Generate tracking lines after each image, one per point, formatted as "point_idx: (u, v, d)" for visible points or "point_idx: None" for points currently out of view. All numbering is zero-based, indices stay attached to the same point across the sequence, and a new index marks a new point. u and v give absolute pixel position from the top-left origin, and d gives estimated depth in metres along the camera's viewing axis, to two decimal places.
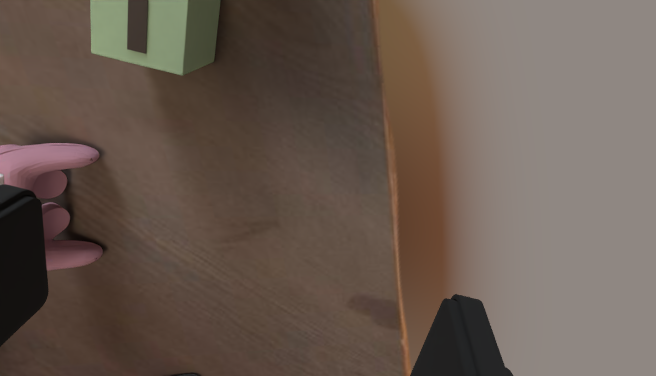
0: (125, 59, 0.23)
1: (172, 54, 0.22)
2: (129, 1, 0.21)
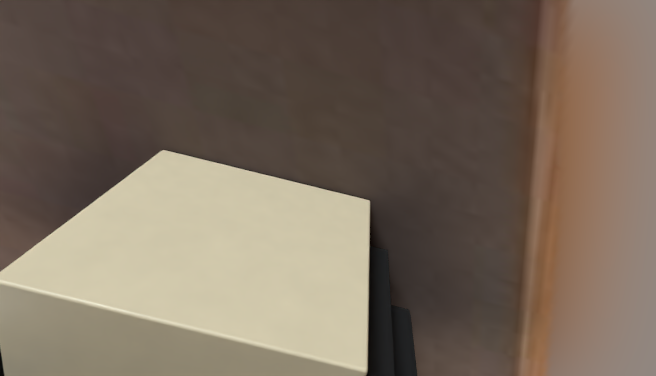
0: None
1: None
2: None
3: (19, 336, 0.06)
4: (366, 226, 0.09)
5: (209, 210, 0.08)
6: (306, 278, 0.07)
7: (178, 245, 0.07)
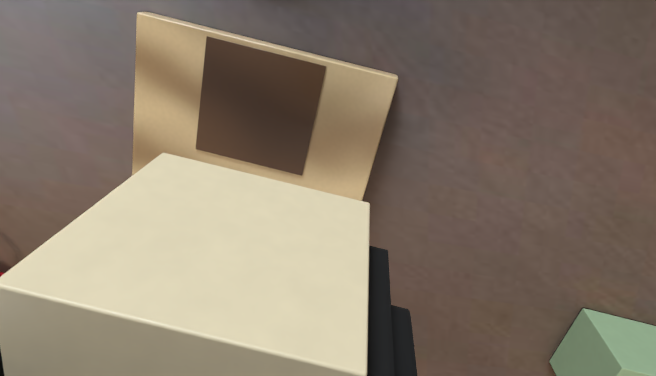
0: None
1: None
2: None
3: (20, 340, 0.06)
4: (366, 229, 0.09)
5: (208, 214, 0.08)
6: (306, 282, 0.07)
7: (178, 249, 0.07)
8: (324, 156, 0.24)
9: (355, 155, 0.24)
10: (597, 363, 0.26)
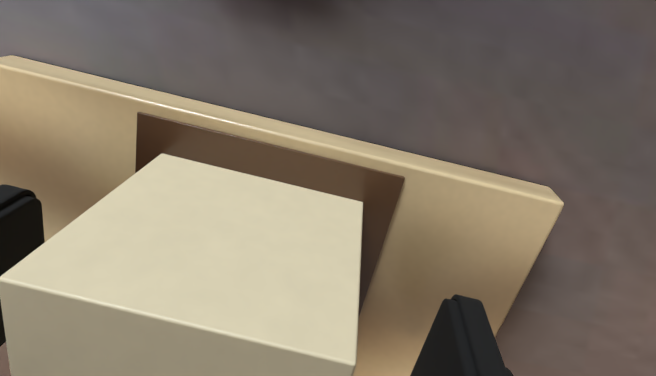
0: None
1: None
2: None
3: (24, 333, 0.06)
4: (358, 227, 0.09)
5: (206, 213, 0.08)
6: (299, 278, 0.07)
7: (176, 246, 0.07)
8: (388, 340, 0.12)
9: None
10: None
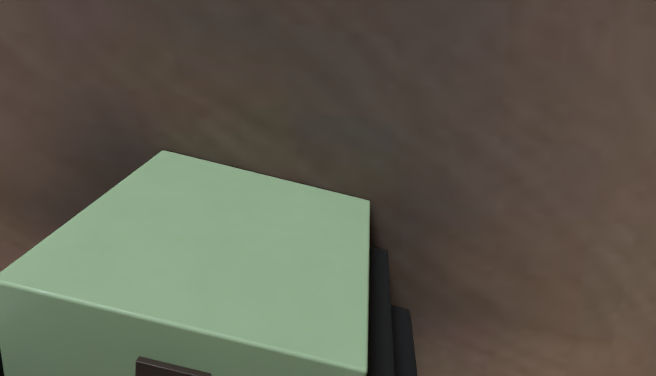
0: None
1: None
2: None
3: None
4: None
5: None
6: None
7: None
8: None
9: None
10: None
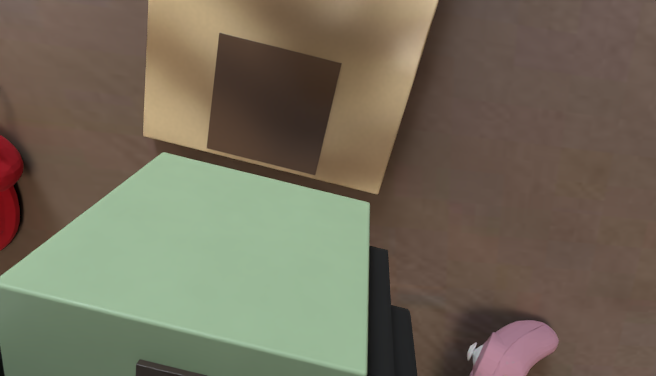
0: None
1: None
2: None
3: None
4: None
5: None
6: None
7: None
8: None
9: None
10: None
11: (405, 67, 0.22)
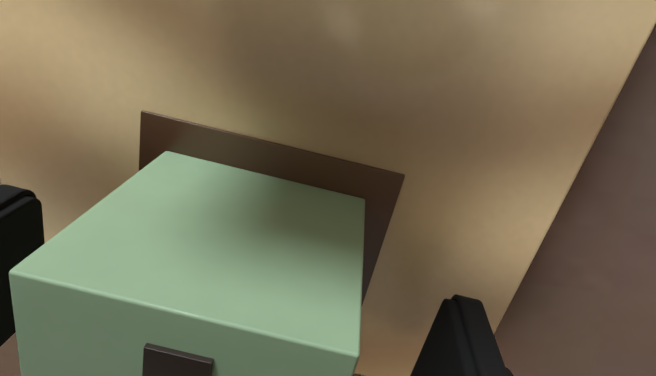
0: None
1: None
2: None
3: None
4: None
5: None
6: None
7: None
8: None
9: None
10: None
11: (544, 185, 0.10)
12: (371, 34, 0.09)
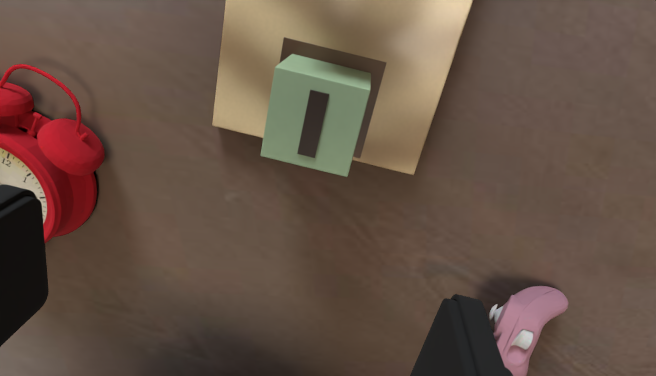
0: (293, 162, 0.24)
1: (340, 158, 0.23)
2: (307, 113, 0.22)
3: None
4: None
5: None
6: None
7: None
8: None
9: None
10: None
11: (440, 65, 0.26)
12: (373, 6, 0.25)
